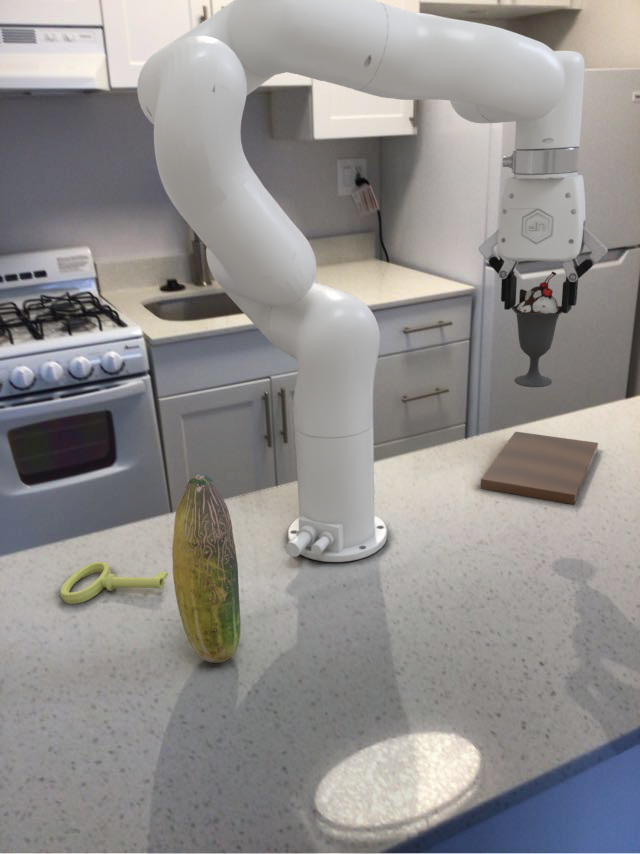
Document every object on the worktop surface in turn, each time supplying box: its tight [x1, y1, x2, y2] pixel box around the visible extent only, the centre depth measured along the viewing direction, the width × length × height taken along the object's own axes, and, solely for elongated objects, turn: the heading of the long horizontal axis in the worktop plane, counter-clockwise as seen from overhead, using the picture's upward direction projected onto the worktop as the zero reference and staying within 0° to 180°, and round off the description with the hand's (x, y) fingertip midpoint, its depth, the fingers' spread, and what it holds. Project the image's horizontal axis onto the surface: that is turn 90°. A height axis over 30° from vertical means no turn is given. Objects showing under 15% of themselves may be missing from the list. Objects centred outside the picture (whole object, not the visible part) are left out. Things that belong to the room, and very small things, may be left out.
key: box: [60, 561, 169, 605], centre depth 88 cm, size 7×12×2 cm, turn 95°
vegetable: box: [171, 473, 241, 664], centre depth 72 cm, size 6×6×20 cm
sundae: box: [511, 271, 563, 388], centre depth 99 cm, size 7×7×15 cm
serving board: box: [480, 431, 599, 505], centre depth 113 cm, size 20×13×2 cm, turn 153°
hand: (537, 308), depth 99 cm, fingers closed on sundae, 6 cm apart
